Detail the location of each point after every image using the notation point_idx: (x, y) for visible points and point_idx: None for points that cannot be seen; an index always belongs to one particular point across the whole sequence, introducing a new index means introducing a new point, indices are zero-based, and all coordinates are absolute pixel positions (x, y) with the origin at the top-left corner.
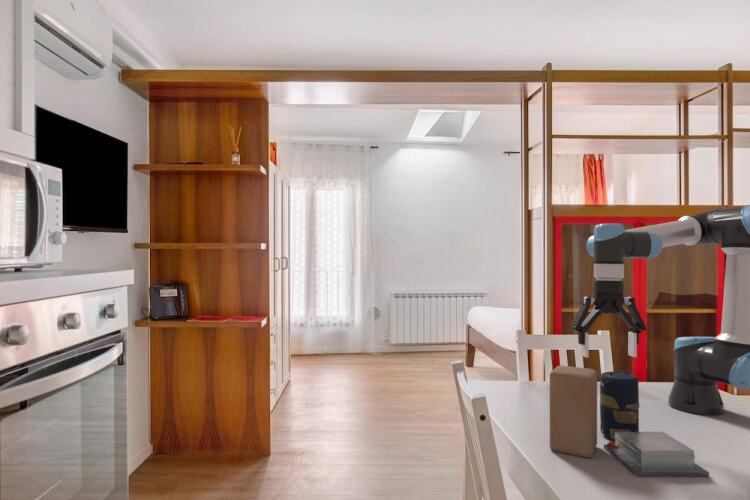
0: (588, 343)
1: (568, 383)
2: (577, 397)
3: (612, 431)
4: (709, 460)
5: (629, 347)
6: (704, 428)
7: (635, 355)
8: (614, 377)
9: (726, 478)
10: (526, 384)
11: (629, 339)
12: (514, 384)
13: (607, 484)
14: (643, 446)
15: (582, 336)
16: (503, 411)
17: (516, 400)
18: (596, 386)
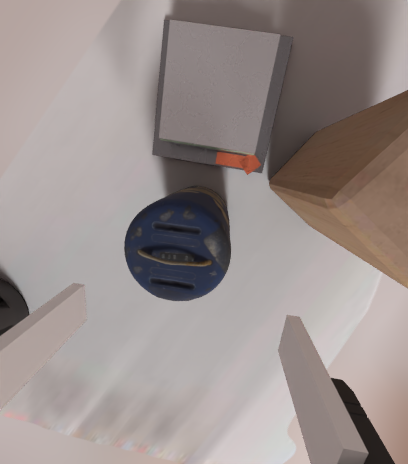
0: (311, 371)
1: None
2: None
3: (223, 202)
4: (117, 95)
5: (61, 336)
6: (35, 226)
7: (73, 287)
8: (210, 229)
9: (141, 14)
10: (196, 453)
11: (26, 372)
12: (216, 458)
13: (371, 14)
14: (258, 58)
15: (365, 437)
16: None
17: (261, 396)
18: (321, 173)
